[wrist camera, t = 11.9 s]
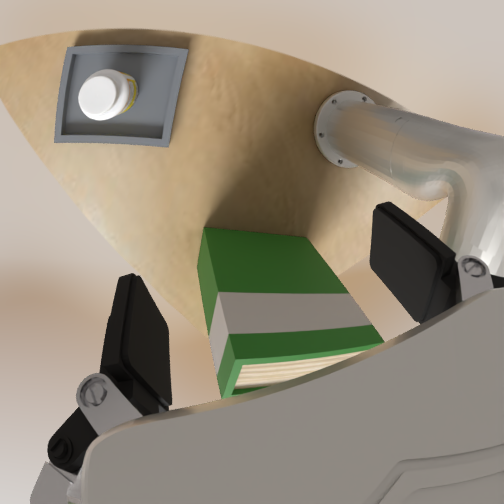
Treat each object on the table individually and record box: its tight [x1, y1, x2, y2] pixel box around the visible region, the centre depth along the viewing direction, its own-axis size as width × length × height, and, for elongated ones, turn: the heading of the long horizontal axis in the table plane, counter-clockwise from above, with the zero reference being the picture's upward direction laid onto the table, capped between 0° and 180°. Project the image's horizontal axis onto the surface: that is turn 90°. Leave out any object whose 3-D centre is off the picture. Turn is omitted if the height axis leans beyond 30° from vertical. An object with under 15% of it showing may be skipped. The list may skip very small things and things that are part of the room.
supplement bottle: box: [78, 69, 138, 120], centre depth 24 cm, size 6×6×10 cm
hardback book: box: [197, 227, 384, 399], centre depth 37 cm, size 18×7×24 cm, turn 75°
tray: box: [54, 45, 189, 147], centre depth 27 cm, size 16×13×2 cm
